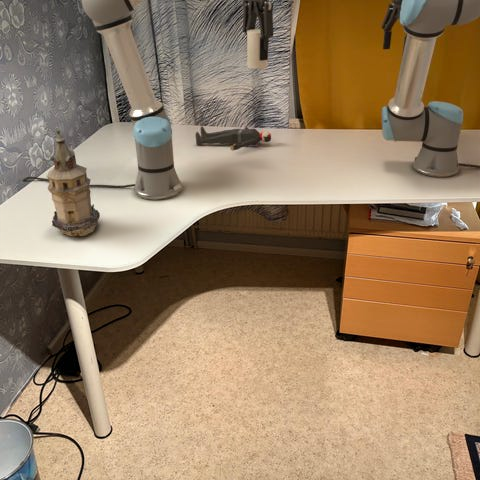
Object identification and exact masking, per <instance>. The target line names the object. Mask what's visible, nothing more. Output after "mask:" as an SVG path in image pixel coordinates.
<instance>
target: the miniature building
mask: <svg viewBox="0 0 480 480" xmlns="http://www.w3.org/2000/svg"><path fill="white" fill-rule="evenodd" d="M56 134H57V136H56V138H55V140H54V141H55V142H56V147H55V154H54V156H52V157H51V161H52V162H53V165H54V167H53V168H51V169H50V170H49V171H48V173H47V174H46V179H49V181H48V182H49V184H48V186H47V190H48V191H49V193H50V194H51V200H52V201H53V205H54V209H55V211H53V217H52V220H51V223H52V225H51V227H54V228H56V229H58V230H59V231H60V234H63V235H64V234H65V235H66V236H69V237H77V236H80V237H83V236H87V235H88V234H90V233H93V232H94V231H95V229H96V226H97V225H98V223H99V220H100V216H101V213H100V212H99V210H98V209H96V208H95V204H92V201H91V200H92V199H91V198H92V197H91V192H92V191H91V188H90V187H89V185H91V178H89V177H88V174H87V167H85V166H84V165H83V166H82V165H80V164H77V160H76V154H75V151H74V150H70V149H69V147H68V145H67V143H66V138H65V137H64V136H63V135H61V130H60V129H56Z"/></svg>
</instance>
